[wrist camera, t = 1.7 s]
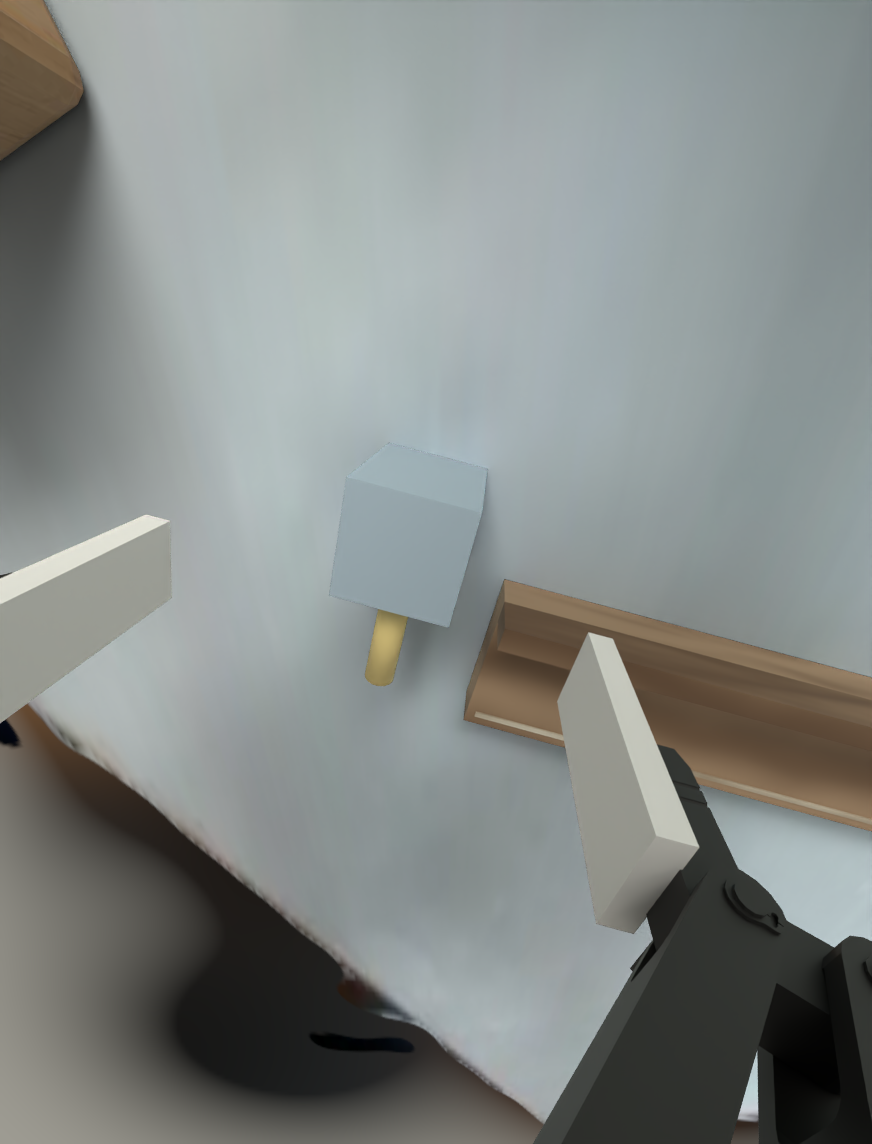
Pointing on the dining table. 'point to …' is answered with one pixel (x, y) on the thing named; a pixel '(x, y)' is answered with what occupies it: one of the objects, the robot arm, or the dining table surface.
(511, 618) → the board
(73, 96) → the wooden block
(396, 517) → the grey cube mallet
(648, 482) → the dining table surface
